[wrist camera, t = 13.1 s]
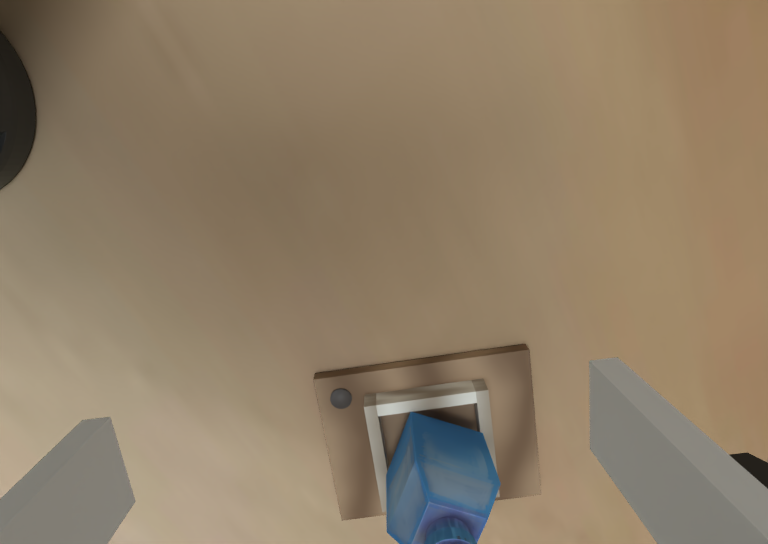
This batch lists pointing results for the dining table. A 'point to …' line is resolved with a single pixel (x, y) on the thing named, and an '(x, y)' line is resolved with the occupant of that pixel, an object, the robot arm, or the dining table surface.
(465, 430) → the perfume bottle
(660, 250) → the dining table surface
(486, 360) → the brown board with frame
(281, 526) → the dining table surface
